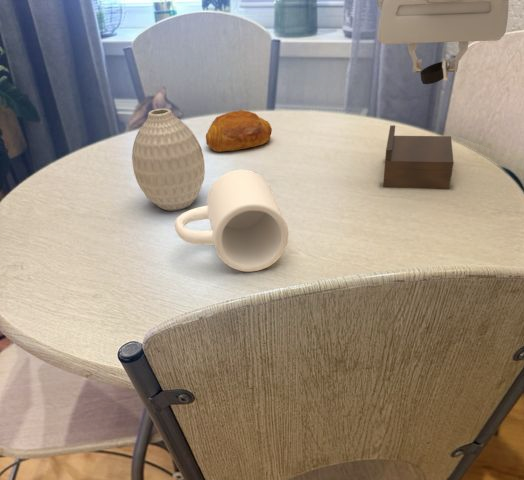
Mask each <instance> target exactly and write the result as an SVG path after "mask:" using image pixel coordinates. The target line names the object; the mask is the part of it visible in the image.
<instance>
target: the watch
mask: <svg viewBox="0 0 524 480" xmlns="http://www.w3.org/2000/svg"><path fill="white" fill-rule="evenodd" d="M448 66H449V63H448V61H447V59H445V58H442V61H440V62H436V63H432V64H430V65H428V66H426V67H424V68H423V69H422V70H421V72H420V80H421V83H422V85H432V84H436V83H438V82H440V81H442V80H443V81H444V82H446V81H448V80H449V73H450V72H448Z"/></svg>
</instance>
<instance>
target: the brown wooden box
mask: <svg viewBox="0 0 524 480" xmlns="http://www.w3.org/2000/svg"><path fill="white" fill-rule="evenodd" d="M395 132H396V124H395V125H394V124H393V125H391V124H390V126H389V132H388V137H387V141H386V142H387V143H386V149H385V159H384V160H385V161H384V171H383V172H384V173H383V182H382V186H383V188H407V189H410V188H411V189H437V190H438V189H439V190H441V189H442V190H449V189H450V187H451V186H450V185H451V180H452V173H453V168H454V153H453V142H452V136H451V135H396V134H395Z"/></svg>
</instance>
